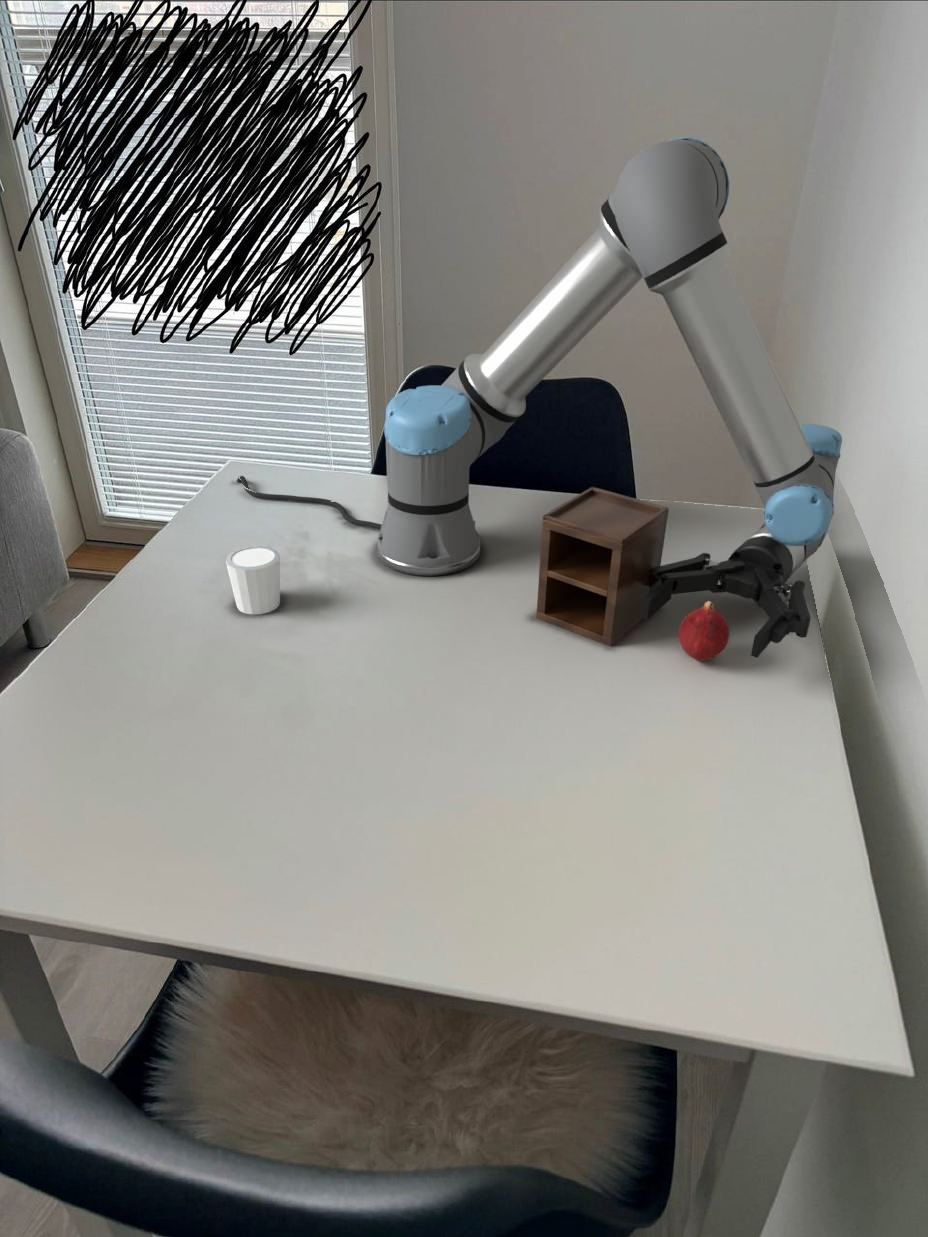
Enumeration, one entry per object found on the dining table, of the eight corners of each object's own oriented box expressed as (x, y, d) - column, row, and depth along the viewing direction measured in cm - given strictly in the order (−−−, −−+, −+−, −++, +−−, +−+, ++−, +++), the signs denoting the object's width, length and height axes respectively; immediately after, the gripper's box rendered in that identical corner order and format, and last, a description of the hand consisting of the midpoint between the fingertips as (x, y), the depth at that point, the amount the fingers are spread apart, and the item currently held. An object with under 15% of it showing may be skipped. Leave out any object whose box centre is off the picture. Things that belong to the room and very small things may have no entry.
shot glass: (290, 592, 119) (286, 546, 116) (276, 618, 113) (271, 570, 110) (241, 589, 120) (235, 543, 116) (224, 615, 114) (217, 567, 110)
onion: (728, 674, 104) (740, 616, 100) (679, 673, 104) (689, 615, 100) (717, 647, 109) (728, 591, 105) (670, 646, 109) (679, 590, 105)
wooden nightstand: (536, 618, 114) (542, 515, 107) (583, 584, 123) (592, 486, 115) (610, 646, 109) (622, 540, 101) (654, 608, 117) (668, 507, 109)
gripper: (855, 615, 112) (799, 692, 97) (674, 560, 124) (601, 621, 110) (869, 563, 108) (814, 634, 93) (682, 512, 120) (607, 567, 106)
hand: (698, 627), depth 101 cm, fingers open, 13 cm apart
